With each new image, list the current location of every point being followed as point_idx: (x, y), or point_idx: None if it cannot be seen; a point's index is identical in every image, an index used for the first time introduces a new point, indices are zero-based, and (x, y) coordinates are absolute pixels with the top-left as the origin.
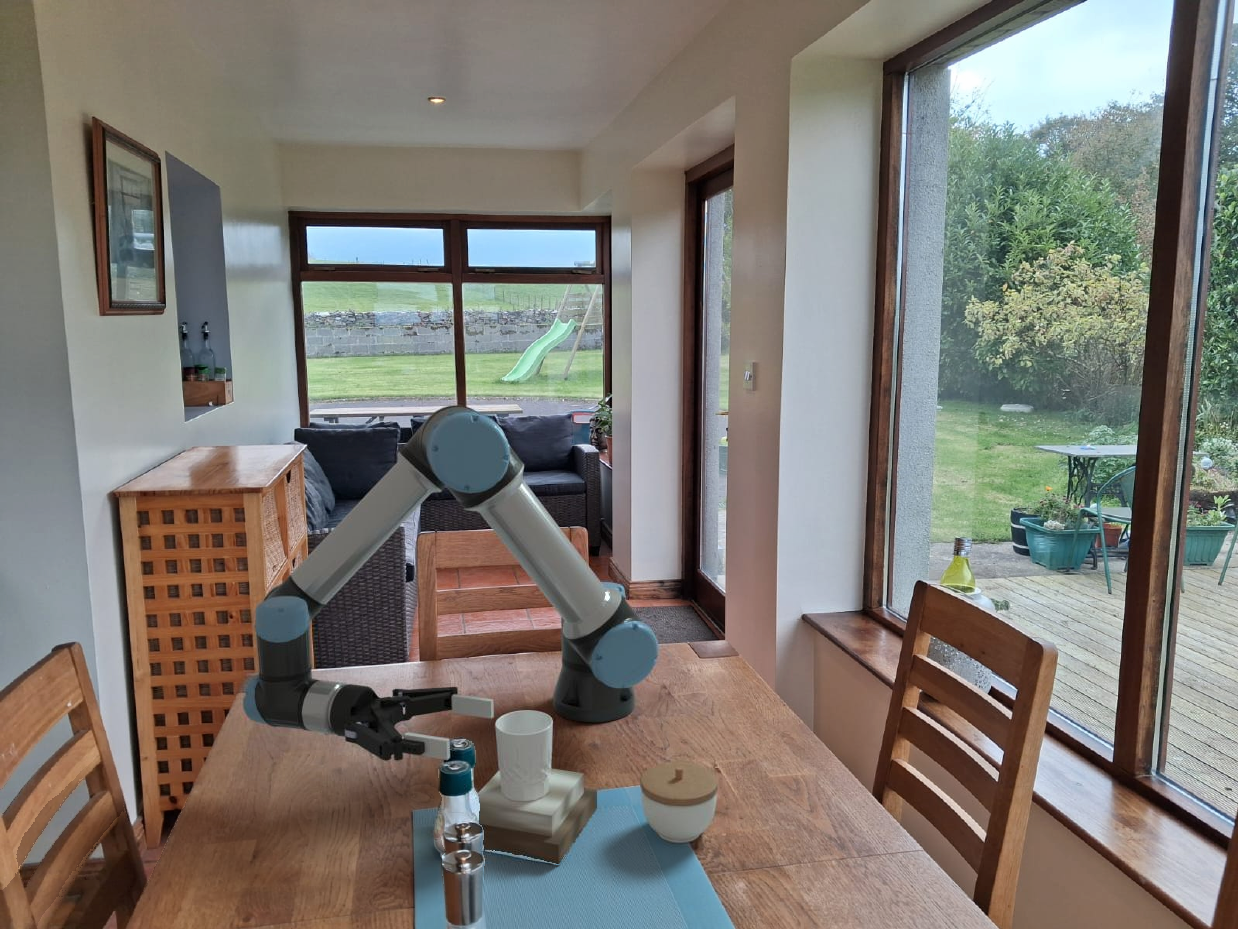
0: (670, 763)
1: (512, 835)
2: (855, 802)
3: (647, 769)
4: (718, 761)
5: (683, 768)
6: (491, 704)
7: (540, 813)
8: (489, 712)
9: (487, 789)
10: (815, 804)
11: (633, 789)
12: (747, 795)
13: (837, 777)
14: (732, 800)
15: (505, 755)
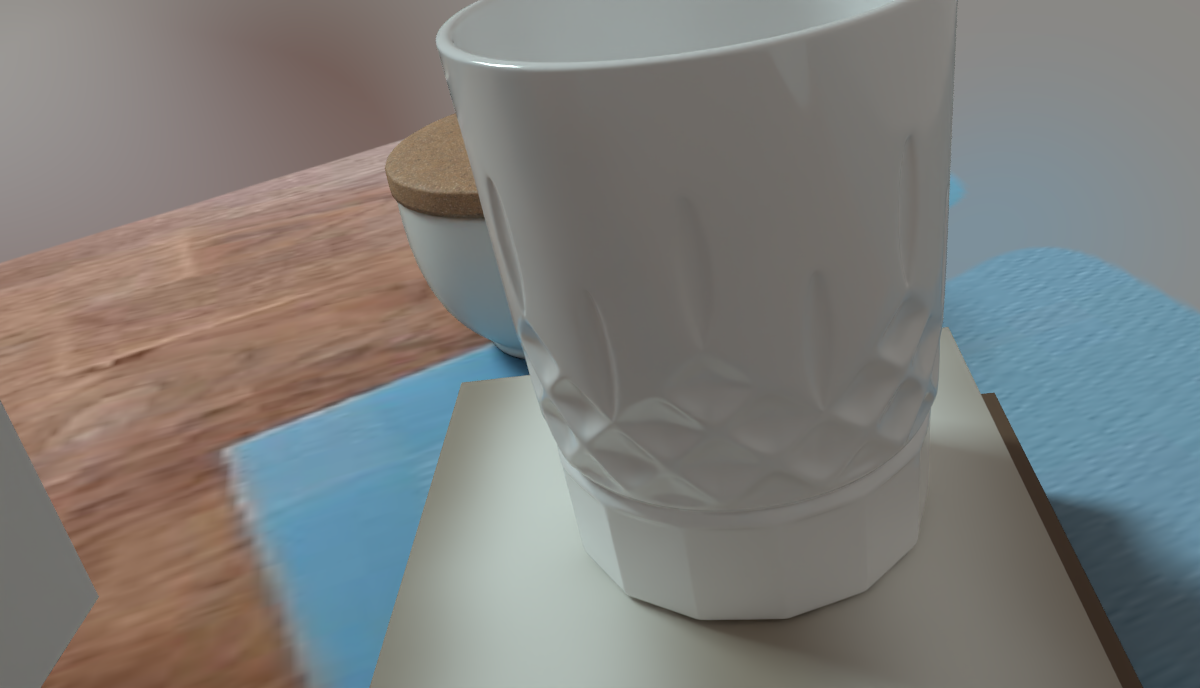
0: (412, 166)
1: (1068, 561)
2: (340, 169)
3: (474, 186)
4: (64, 370)
5: (450, 140)
6: (5, 433)
7: (962, 360)
8: (48, 550)
9: None
10: (356, 199)
11: (273, 490)
12: (313, 278)
13: (212, 204)
14: (347, 290)
15: (946, 191)
